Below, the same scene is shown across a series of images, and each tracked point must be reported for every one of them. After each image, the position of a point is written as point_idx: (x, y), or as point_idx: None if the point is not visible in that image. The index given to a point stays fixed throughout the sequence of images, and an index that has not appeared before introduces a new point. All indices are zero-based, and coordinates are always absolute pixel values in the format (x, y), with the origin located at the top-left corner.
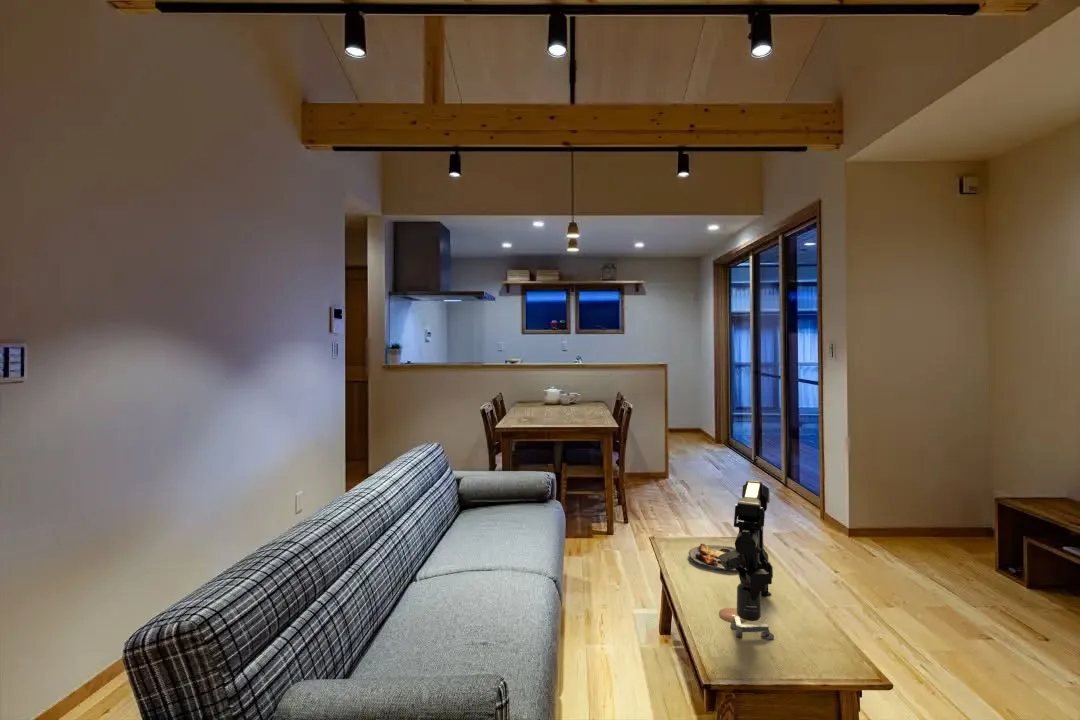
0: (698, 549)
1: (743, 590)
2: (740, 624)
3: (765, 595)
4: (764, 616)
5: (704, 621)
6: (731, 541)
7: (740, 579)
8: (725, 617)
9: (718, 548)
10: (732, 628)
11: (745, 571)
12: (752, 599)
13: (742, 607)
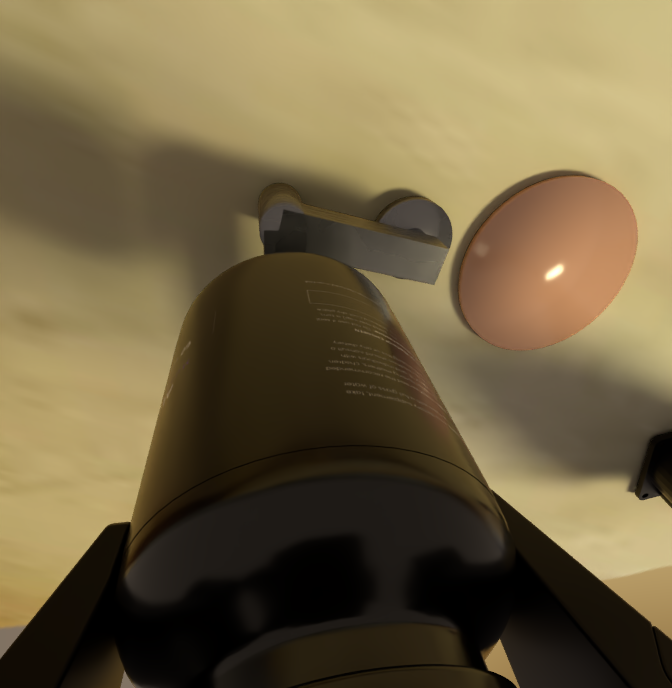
0: None
1: (186, 563)
2: (310, 250)
3: (641, 476)
4: (483, 420)
5: (552, 3)
6: None
7: (593, 622)
8: (535, 206)
9: None
10: (397, 201)
11: None
12: (99, 541)
13: (209, 334)
